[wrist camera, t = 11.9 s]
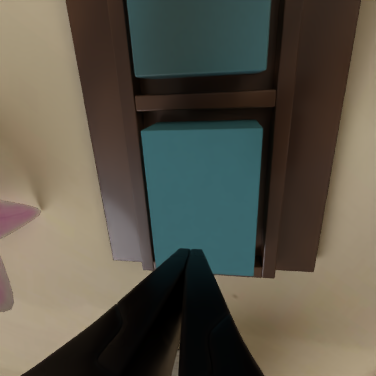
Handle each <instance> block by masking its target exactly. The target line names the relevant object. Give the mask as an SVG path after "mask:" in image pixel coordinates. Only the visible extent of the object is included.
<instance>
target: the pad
mask: <svg viewBox="0 0 376 376" xmlns="http://www.w3.org/2000/svg"><path fill="white" fill-rule="evenodd" d="M141 137H142V146H143V155H144V164H145V173H146V182H147V191H148V200H149V209H150V218H151V227H152V236H153V245H154V254H155V263H156V268H157V267H159V266H160V265H161V264H162V263H163V262H164V261H165V260H167V259H168V258H169V257H170V256H171V255H172V254H173V253H175V252H176V251H177V250H178V249H179V248H188V249H190V250H191V249H202V250H203V252H204V254H205V257H206V259H207V261H208V263H209V266H210V268H211V270H212V273H213V274H225V275H240V276H254V263H255V248H256V232H257V217H258V201H259V186H260V170H261V155H262V139H263V128H262V126H261V125H260V124H259V123H258V122H257V120H255V119H254V120H218V121H181V122H157V123H155V124H153V125H151V126H149V127H147V128H145V129H143V130H141Z"/></svg>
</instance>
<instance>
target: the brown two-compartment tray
mask: <svg viewBox="0 0 376 376" xmlns="http://www.w3.org/2000/svg"><path fill="white" fill-rule="evenodd" d="M360 3H361V0H66V5H67V10H68V16H69V21H70V27H71V32H72V38H73V43H74V49H75V54H76V59H77V65H78V70H79V76H80V81H81V87H82V92H83V97H84V103H85V108H86V114H87V119H88V125H89V130H90V136H91V141H92V146H93V152H94V157H95V163H96V168H97V174H98V179H99V184H100V190H101V195H102V201H103V206H104V212H105V217H106V222H107V228H108V233H109V239H110V244H111V250H112V255H113V260H120V261H137V262H142V266H143V270H151V271H154V270H155V269H156V263H155V254H154V245H153V236H152V227H151V218H150V209H149V200H148V191H147V182H146V173H145V164H144V155H143V146H142V137H141V130H143V129H145V128H147V127H149V126H151V125H153V124H155V123H157V122H181V121H218V120H254V119H255V120H257V122H258V123H259V124H260V125H261V126H262V128H263V139H262V155H261V170H260V186H259V201H258V217H257V232H256V248H255V263H254V276H242V277H257V278H261V277H262V278H275V270H287V271H303V272H314V267H315V261H316V256H317V250H318V244H319V238H320V233H321V227H322V221H323V216H324V210H325V204H326V198H327V193H328V187H329V181H330V175H331V170H332V164H333V158H334V152H335V147H336V141H337V135H338V130H339V124H340V118H341V112H342V107H343V101H344V95H345V89H346V84H347V78H348V72H349V66H350V61H351V55H352V49H353V44H354V38H355V32H356V26H357V21H358V15H359V9H360ZM213 275H225V274H213ZM227 276H240V275H227Z"/></svg>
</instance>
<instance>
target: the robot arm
mask: <svg viewBox="0 0 376 376" xmlns="http://www.w3.org/2000/svg"><path fill="white" fill-rule="evenodd" d="M179 343H180V352H179V369H178V376H264V374H263V373H262V371H261V370H260V368H259V366H258V365H257V363H256V361H255V360H254V358H253V357H252V355H251V353H250V351H249V350H248V348H247V346H246V344H245V343H244V341H243V339H242V337H241V335H240V333H239V331H238V329H237V327H236V325H235V322H234V320H233V318H232V316H231V314H230V311H229V309H228V307H227V305H226V302H225V300H224V298H223V295H222V293H221V291H220V289H219V286H218V284H217V282H216V279H215V277H214V275H213V273H212V270H211V268H210V266H209V263H208V261H207V259H206V257H205V254H204V252H203V250H202V249H191V250H190V249H188V248H179V249H178V250H177V251H176V252H175V253H173V254H172V255H171V256H170V257H169V258H168V259H167V260H165V261H164V262H163V263H162V264H161V265H160V266H159V267H157V268H156V269H155V270H154V271H153V272H152V273H151V274H149V275H148V276H147V277H146V278H145V279H144V280H143V281H141V282H140V283H139V284H138V285H137V286H136V287H135V288H133V289H132V290H131V291H130V292H129V293H128V294H127V295H125V296H124V297H123V298H122V299H121V300H120V301H119V302H118V303H117V304H115V305H114V306H113V307H112V308H111V309H109V310H108V311H107V312H106V313H105V314H104V315H102V316H101V317H100V318H99V319H98V320H96V321H95V322H94V323H93V324H91V325H90V326H89V327H87V328H86V329H85V330H84V331H82V332H81V333H80V334H78V335H77V336H76V337H74V338H73V339H71V340H70V341H69V342H67V343H66V344H65V345H63V346H62V347H61V348H59V349H58V350H56V351H55V352H54V353H52V354H51V355H50V356H48V357H47V358H46V359H44V360H43V361H41V362H40V363H39V364H37V365H36V366H35V367H33V368H32V369H30V370H29V371H27V372H26V373H24V374H22V375H21V376H171V375H172V371H173V367H174V363H175V359H176V355H177V351H178V347H179Z"/></svg>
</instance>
